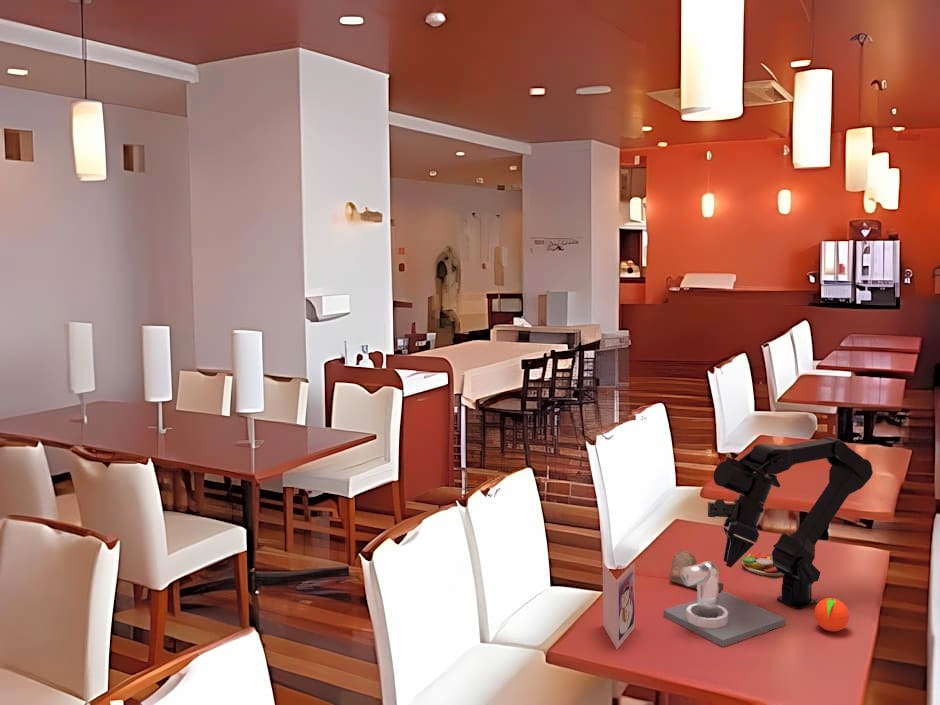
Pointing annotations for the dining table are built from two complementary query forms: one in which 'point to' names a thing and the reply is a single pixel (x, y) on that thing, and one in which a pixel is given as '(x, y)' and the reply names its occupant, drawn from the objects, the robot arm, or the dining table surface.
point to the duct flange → (726, 620)
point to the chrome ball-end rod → (703, 587)
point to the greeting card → (619, 604)
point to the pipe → (680, 562)
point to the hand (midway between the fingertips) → (726, 564)
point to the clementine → (831, 614)
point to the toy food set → (760, 564)
